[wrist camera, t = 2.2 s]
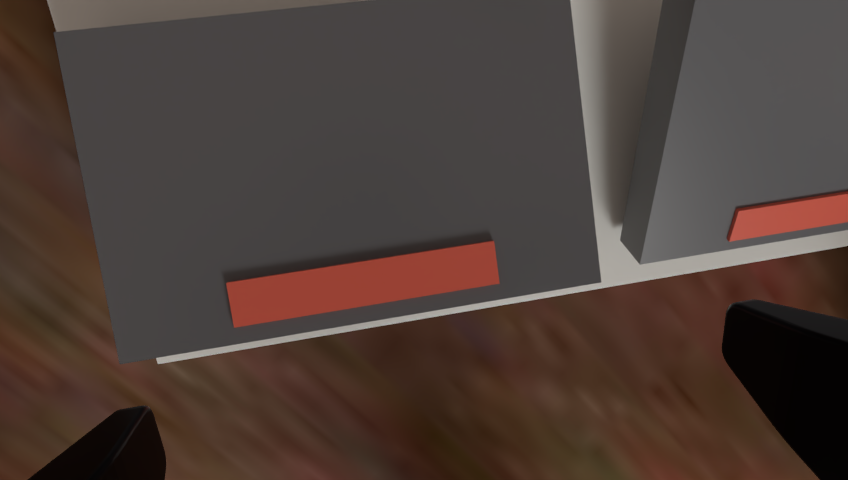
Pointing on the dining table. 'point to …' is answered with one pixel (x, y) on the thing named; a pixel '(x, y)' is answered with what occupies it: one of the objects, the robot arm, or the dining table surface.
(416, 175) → the outer rocker
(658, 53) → the panel
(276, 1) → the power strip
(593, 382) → the dining table surface
